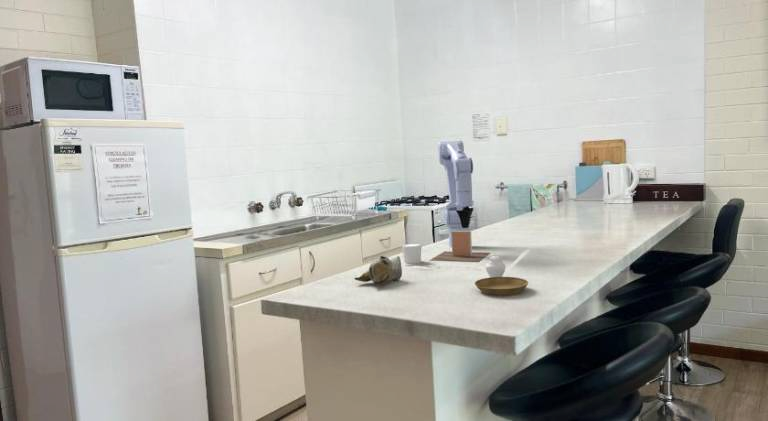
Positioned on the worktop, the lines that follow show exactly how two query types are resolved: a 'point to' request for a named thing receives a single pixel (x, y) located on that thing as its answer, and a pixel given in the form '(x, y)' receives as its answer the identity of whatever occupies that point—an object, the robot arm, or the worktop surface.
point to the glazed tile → (461, 243)
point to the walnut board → (460, 257)
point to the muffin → (495, 267)
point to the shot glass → (412, 253)
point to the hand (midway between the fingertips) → (465, 227)
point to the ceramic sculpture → (383, 271)
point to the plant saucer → (501, 285)
